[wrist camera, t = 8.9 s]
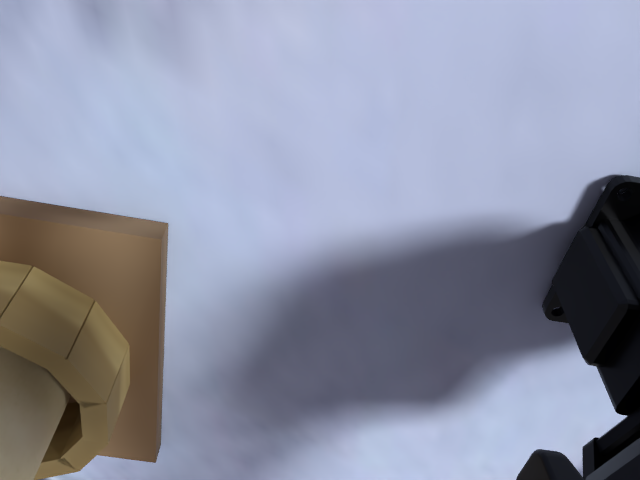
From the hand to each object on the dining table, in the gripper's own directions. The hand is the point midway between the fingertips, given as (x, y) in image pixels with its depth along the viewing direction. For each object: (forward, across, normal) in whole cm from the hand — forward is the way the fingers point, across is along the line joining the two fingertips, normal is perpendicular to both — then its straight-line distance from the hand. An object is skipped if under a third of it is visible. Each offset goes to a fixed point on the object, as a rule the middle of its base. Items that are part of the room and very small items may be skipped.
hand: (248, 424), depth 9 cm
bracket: (+12, +10, +13) cm, 21 cm away
